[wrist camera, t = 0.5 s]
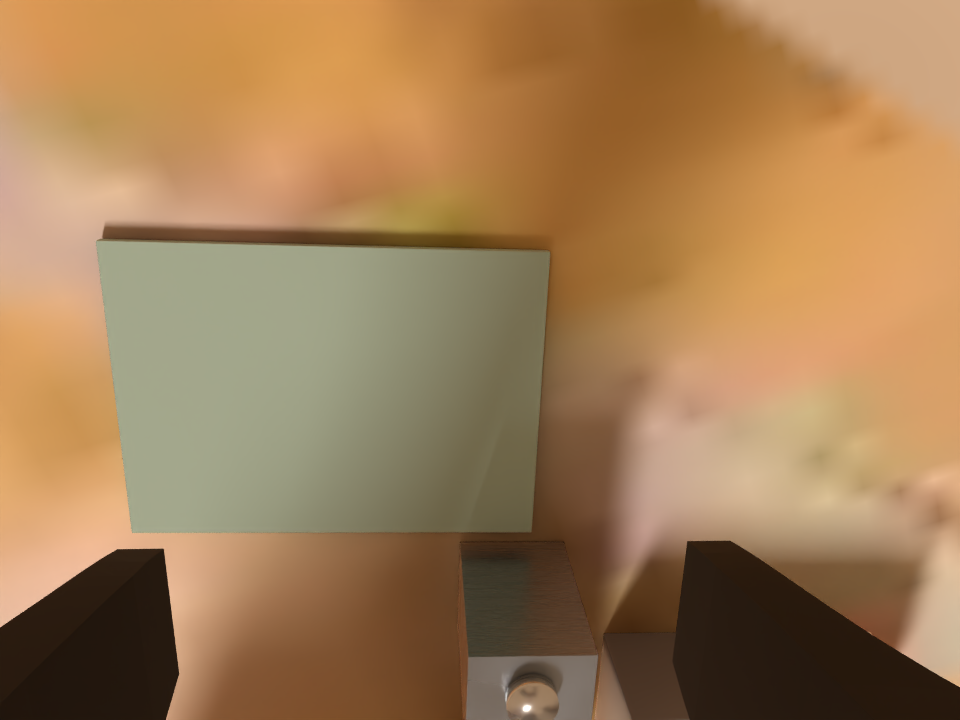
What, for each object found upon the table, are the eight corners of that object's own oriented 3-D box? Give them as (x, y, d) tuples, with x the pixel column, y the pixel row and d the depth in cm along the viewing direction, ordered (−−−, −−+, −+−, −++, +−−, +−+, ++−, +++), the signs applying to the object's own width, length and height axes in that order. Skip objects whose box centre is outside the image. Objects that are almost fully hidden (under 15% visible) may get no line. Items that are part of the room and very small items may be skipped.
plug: (848, 718, 25) (912, 812, 22) (593, 723, 24) (619, 821, 21) (869, 629, 24) (940, 714, 21) (603, 632, 23) (632, 720, 20)
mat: (530, 526, 22) (531, 532, 22) (136, 526, 21) (131, 532, 21) (548, 250, 19) (550, 252, 19) (100, 238, 18) (95, 240, 18)
